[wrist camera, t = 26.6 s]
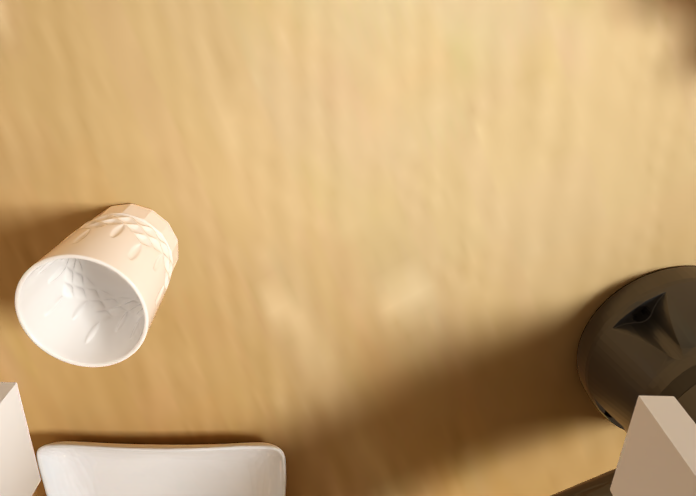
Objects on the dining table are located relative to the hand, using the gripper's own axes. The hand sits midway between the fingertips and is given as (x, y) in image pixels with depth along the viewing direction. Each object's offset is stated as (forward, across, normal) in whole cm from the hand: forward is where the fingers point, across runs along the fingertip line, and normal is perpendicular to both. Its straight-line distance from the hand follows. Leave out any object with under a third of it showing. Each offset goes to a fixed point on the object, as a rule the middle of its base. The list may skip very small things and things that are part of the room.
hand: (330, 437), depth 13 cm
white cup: (+31, +15, +10) cm, 36 cm away
